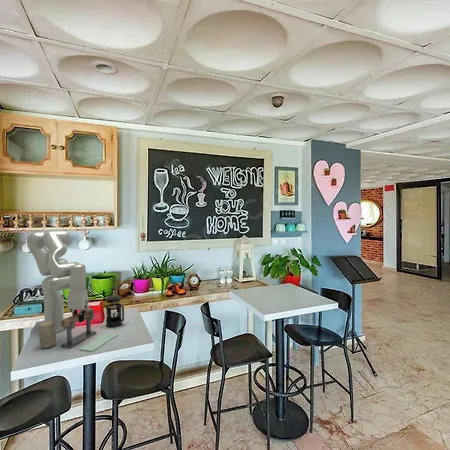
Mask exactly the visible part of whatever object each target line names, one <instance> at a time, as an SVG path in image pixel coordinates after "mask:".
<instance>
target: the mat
mask: <svg viewBox="0 0 450 450" xmlns="http://www.w3.org/2000/svg"><path fill="white" fill-rule="evenodd" d="M118 336H119V335H118V334H116V333H108V332H107V333H106V332H105V333H103V334H102V335H100V336H98V337H97V338H95V339H93V340H91V341H90V342H88V343H86V344H85V345H83V346H81V347H80V348H78V350H79V351H84V352H91V353H94V352H95V351H96V350H98V349H100V348H102V347H103V346H104V345H106V344H108V343H109V342H110V341H112V340H113V339H115V338H116V337H118Z"/></svg>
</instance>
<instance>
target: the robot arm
mask: <svg viewBox="0 0 450 450" xmlns="http://www.w3.org/2000/svg"><path fill="white" fill-rule="evenodd" d="M70 242H71V234H70V233H69V231H67V230H64V229H60V230H48V231H47V230H46V231H34V232H31V233H29V234H28V235H27V236H26V245H27V246H26V247H27V248H28V250H29V252H30V253H31V254H32V256H33V258H34V260H35V263H36V265H37V268H38V271H39V273H40V275H41V276H42V277H44V278H43V280H42V281H41V289H42V294H43V311H44V320H43V321H42V322H41V323H40V325H41V324H43V323H45V322H53V323H54V327H55V333H60V332H62V331H65V330H66V329H63V327H62V326H61V320H64V299H63V296H62V295H61V294H60V293H59V292H62V291H66V290H68V292H67V293H68V294H67V302H66V305H67V306H66V307H67V309H68V311H70V312H71V315H72V316H73V315H75V314H77V313H79V312H80V315H79V321H78V323H80V324H81V323H83V322H85V319H84V314H85V313H86V311H88V310H90V309H89V308H90V307H89V294H88V289H87V279H86V276H87V273H86V269H87V267H86V265H85V264H84V263H79V262H78V261H71V262H69V261H68V260H67V259H65V258H63V256H64V255H65V254H66V253H67V251H68V248H67V246H66V245H67V244H69V243H70ZM44 246H45V247H44ZM61 257H62V258H61ZM78 311H79V312H78Z"/></svg>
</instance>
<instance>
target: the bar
mask: <svg viewBox="0 0 450 450" xmlns="http://www.w3.org/2000/svg"><path fill="white" fill-rule="evenodd" d="M89 309H90V310H88V311H86V313H85V314H84V318H86V317H88V316H89V317H90V313H92V312H93V313H94V314H95V308H91V307H89ZM79 315H80V312H77V314H75V315H73V314H72V315H71V316H68V317H66V318H63V320H61V326H62V327H67V326H71V322H73V321H75V324H76V323H79Z"/></svg>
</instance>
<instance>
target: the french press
mask: <svg viewBox="0 0 450 450" xmlns="http://www.w3.org/2000/svg"><path fill="white" fill-rule="evenodd" d="M117 288H118V287H116V286H112V287H109V289H110V290H112V295H110V296H106V297H105V300H106V303H107V305H106V306H105V310H106V320H105V323H106V324H105V327H106V328H108V329H109V328H110V329H111V328H112V329H113V328H119V327H121V326H122V325H123V322H124V321H125V307H124V305H122V303H119V302H121V300H122V295H115V293H114V292H115V290H116V289H117ZM115 310H116V312H115ZM112 311H113V312H112Z"/></svg>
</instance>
